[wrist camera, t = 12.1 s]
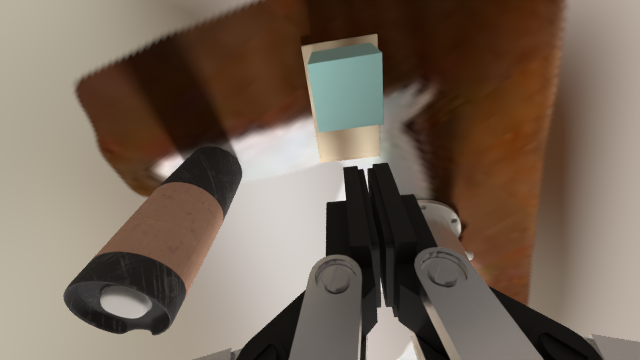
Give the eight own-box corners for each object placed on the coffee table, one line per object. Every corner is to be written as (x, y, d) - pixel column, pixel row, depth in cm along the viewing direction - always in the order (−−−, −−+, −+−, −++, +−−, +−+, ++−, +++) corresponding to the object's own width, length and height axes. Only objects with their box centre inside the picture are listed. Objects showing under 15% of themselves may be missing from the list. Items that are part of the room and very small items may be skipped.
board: (376, 33, 26) (377, 34, 26) (379, 152, 34) (380, 155, 33) (301, 45, 27) (301, 46, 26) (320, 159, 34) (320, 162, 34)
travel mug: (207, 132, 33) (83, 264, 16) (255, 170, 36) (192, 315, 19) (176, 168, 36) (45, 309, 19) (223, 200, 39) (144, 347, 22)
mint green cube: (370, 42, 25) (382, 52, 19) (372, 101, 28) (383, 124, 22) (311, 51, 25) (307, 64, 20) (320, 108, 28) (318, 132, 23)
